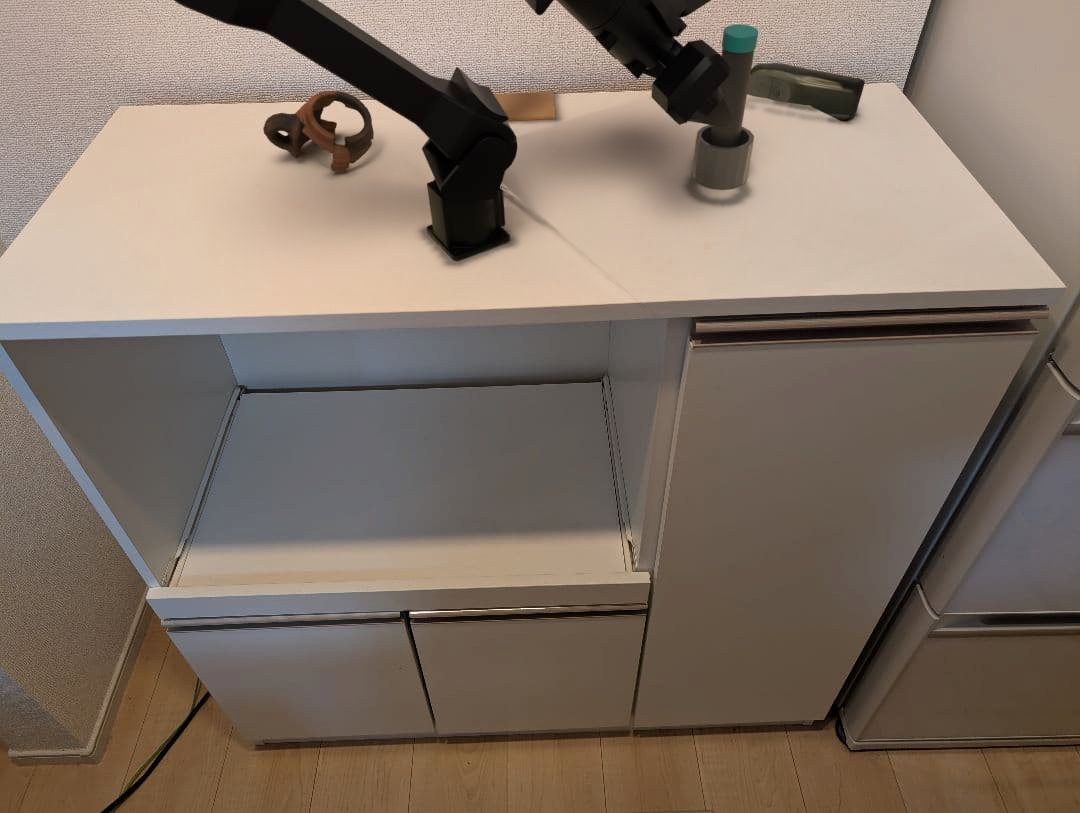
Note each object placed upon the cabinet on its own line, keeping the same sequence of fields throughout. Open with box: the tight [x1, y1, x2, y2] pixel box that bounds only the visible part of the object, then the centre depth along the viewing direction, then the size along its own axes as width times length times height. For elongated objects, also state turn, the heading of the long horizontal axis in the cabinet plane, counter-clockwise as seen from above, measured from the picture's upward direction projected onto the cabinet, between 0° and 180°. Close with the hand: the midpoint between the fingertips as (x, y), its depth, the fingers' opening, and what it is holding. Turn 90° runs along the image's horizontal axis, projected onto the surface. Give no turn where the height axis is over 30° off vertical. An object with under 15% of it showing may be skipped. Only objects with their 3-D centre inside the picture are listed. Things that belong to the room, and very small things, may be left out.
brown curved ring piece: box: [262, 90, 375, 174], centre depth 91 cm, size 12×9×8 cm
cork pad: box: [493, 91, 557, 122], centre depth 101 cm, size 9×7×1 cm
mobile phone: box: [747, 62, 866, 121], centre depth 97 cm, size 5×3×15 cm
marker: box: [709, 24, 759, 148], centre depth 80 cm, size 3×3×15 cm
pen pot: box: [691, 124, 755, 191], centre depth 85 cm, size 6×6×6 cm
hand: (707, 103), depth 79 cm, fingers open, 9 cm apart
